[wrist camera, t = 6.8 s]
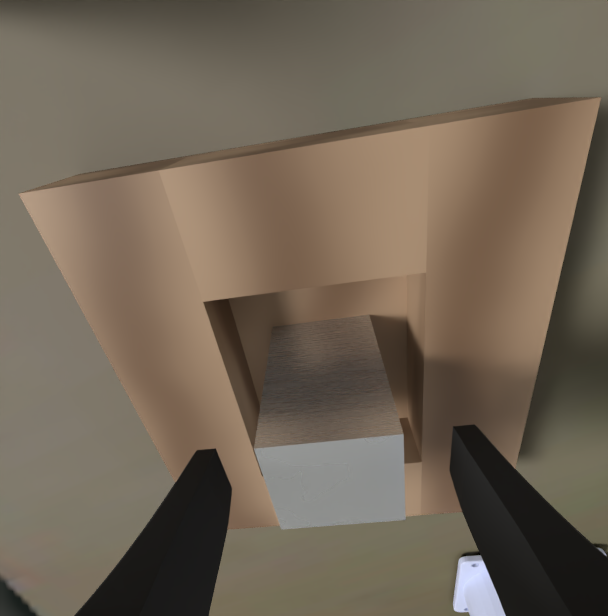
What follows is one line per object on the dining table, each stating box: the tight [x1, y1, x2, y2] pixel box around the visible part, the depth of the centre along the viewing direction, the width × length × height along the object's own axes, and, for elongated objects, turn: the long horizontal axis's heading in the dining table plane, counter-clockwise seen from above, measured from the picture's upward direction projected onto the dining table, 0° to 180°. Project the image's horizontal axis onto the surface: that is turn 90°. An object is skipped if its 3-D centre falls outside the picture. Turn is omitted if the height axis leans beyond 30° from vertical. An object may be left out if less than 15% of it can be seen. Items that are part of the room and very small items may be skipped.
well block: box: [19, 97, 601, 530], centre depth 15 cm, size 15×17×3 cm
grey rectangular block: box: [254, 315, 406, 529], centre depth 13 cm, size 4×4×6 cm
